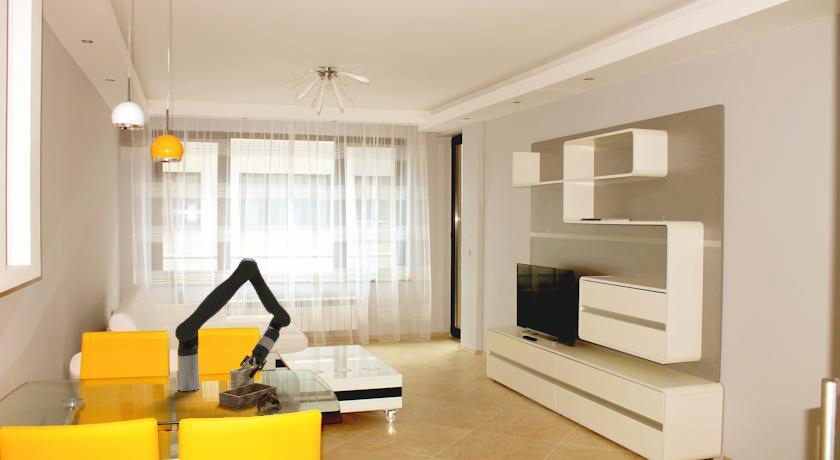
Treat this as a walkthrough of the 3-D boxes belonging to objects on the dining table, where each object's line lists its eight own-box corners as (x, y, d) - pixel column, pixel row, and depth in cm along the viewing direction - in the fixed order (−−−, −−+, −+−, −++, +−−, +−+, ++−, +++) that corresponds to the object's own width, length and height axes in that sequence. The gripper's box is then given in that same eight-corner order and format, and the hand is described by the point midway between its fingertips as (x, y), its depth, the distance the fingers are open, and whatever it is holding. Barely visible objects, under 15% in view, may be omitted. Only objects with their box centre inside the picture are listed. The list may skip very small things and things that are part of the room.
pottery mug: (279, 413, 271) (269, 398, 269) (261, 422, 273) (250, 407, 271) (287, 398, 283) (276, 383, 281) (269, 407, 284) (258, 392, 282)
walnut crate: (239, 408, 278) (239, 397, 278) (219, 403, 287) (218, 392, 287) (276, 397, 293) (276, 386, 293) (256, 393, 303) (256, 382, 303)
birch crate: (238, 395, 300) (237, 371, 300) (231, 393, 304) (230, 370, 304) (254, 391, 307) (253, 368, 307) (247, 389, 311) (246, 366, 311)
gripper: (249, 342, 317) (230, 370, 309) (268, 344, 309) (249, 373, 300) (259, 350, 322) (240, 378, 313) (277, 353, 313) (258, 382, 304)
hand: (244, 376), depth 306 cm, fingers open, 8 cm apart
